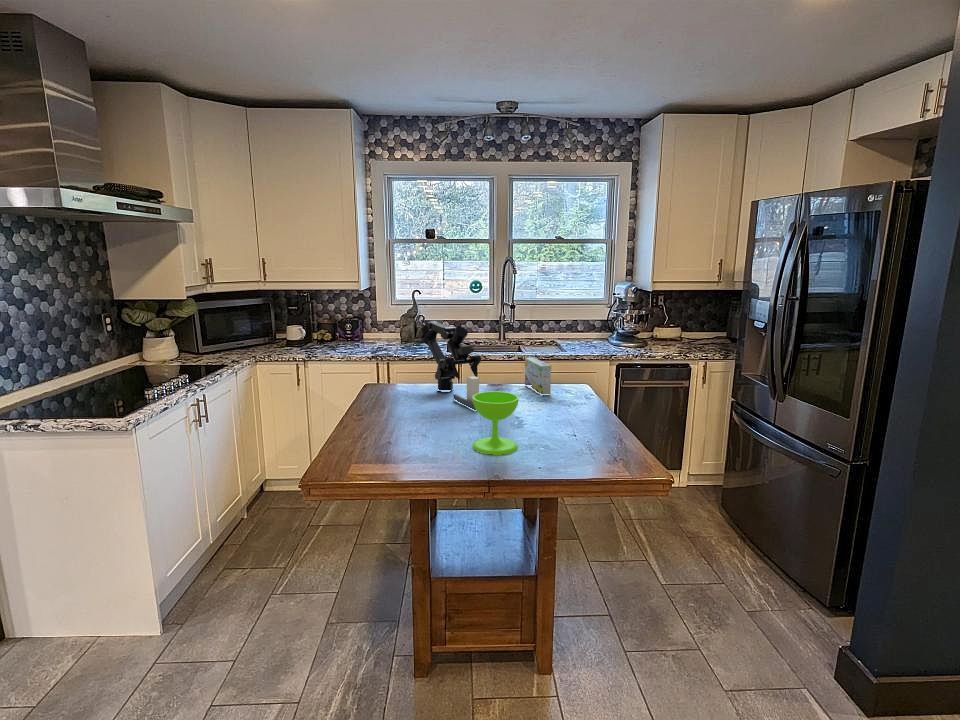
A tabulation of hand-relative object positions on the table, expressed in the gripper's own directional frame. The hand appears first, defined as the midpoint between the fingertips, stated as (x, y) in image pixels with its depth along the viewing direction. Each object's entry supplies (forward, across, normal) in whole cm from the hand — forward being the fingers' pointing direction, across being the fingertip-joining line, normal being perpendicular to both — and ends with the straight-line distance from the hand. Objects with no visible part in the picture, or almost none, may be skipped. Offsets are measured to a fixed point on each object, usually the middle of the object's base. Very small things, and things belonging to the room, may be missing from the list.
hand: (468, 377), depth 237 cm
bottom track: (+12, 0, +5) cm, 12 cm away
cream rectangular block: (+11, 0, +4) cm, 12 cm away
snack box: (+8, +40, +9) cm, 42 cm away
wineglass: (+46, -21, -30) cm, 59 cm away
